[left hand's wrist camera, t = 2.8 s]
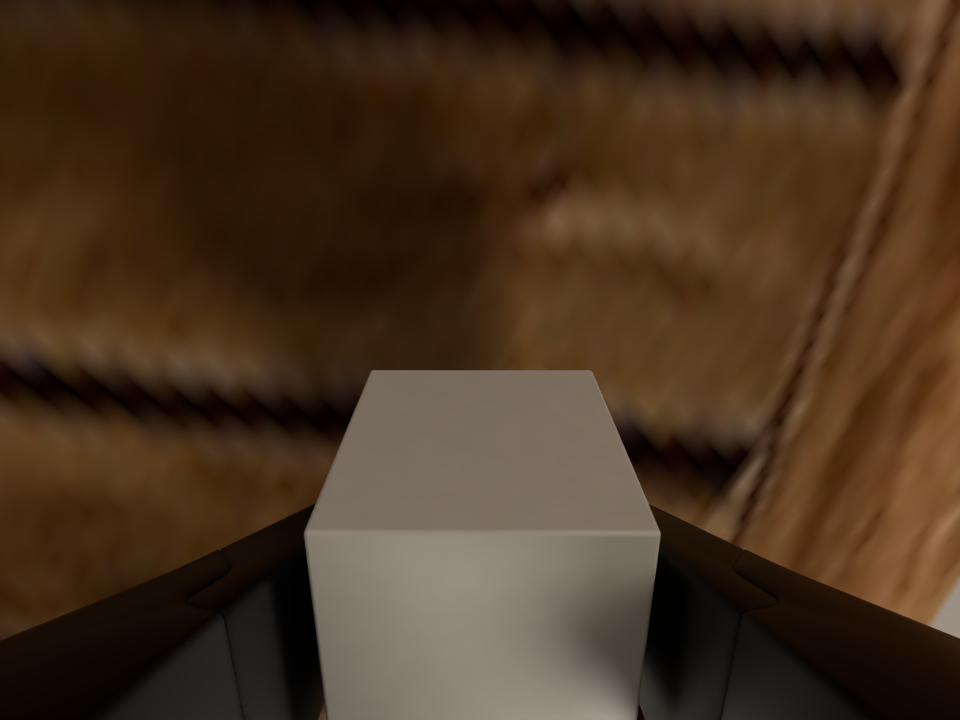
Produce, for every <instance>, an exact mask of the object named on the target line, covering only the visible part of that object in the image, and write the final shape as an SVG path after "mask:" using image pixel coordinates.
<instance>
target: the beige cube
mask: <svg viewBox="0 0 960 720" xmlns="http://www.w3.org/2000/svg"><path fill="white" fill-rule="evenodd" d="M660 536H661V533H660V530H659V528H658V526H657V523H656V521H655V519H654V516H653V514H652V511H651V509H650V507H649V504H648V502H647V500H646V497H645V495H644V493H643V490H642V488H641V486H640V483H639V481H638V479H637V476H636V474H635V471H634V469H633V467H632V464H631V462H630V460H629V457H628V455H627V453H626V450H625V448H624V446H623V443H622V441H621V439H620V436H619V434H618V431H617V429H616V427H615V424H614V422H613V420H612V417H611V415H610V413H609V410H608V408H607V406H606V403H605V401H604V399H603V396H602V394H601V391H600V389H599V387H598V384H597V382H596V380H595V377H594V375H593V373H592V371H590V370H373V371H371V372H370V375H369V377H368V380H367V382H366V384H365V387H364V389H363V392H362V394H361V396H360V399H359V401H358V404H357V406H356V408H355V411H354V413H353V416H352V418H351V420H350V423H349V425H348V428H347V430H346V432H345V435H344V437H343V440H342V442H341V444H340V447H339V449H338V452H337V454H336V456H335V459H334V461H333V464H332V466H331V468H330V471H329V473H328V476H327V478H326V480H325V483H324V485H323V488H322V490H321V492H320V495H319V497H318V500H317V502H316V504H315V507H314V509H313V512H312V514H311V517H310V519H309V521H308V524H307V526H306V529H305V531H304V540H305V548H306V557H307V565H308V573H309V581H310V589H311V597H312V605H313V613H314V621H315V629H316V637H317V645H318V653H319V661H320V669H321V677H322V686H323V694H324V702H325V710H326V718H327V720H637V713H638V705H639V697H640V690H641V682H642V674H643V667H644V659H645V651H646V644H647V636H648V628H649V621H650V613H651V605H652V598H653V590H654V582H655V575H656V567H657V559H658V552H659V544H660Z"/></svg>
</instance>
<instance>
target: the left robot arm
mask: <svg viewBox="0 0 960 720" xmlns="http://www.w3.org/2000/svg"><path fill="white" fill-rule="evenodd" d="M315 504H316V503H315ZM315 504H313V505H311V506H309V507H307V508H305V509H303V510H301V511H299V512H297V513H295V514H293V515H291V516H288V517H286V518H284V519H282V520H280V521H278V522H276V523H274V524H272V525H270V526H268V527H266V528H264V529H261V530H259V531H257V532H255V533H253V534H251V535H249V536H247V537H245V538H243V539H241V540H239V541H237V542H234V543H232V544H230V545H228V546H226V547H224V548H222V549H221V550H216V551H214V552H212V553H210V554H208V555H206V556H204V557H202V558H199V559H197V560H195V561H193V562H191V563H188V564H186V565H184V566H182V567H180V568H177V569H175V570H173V571H170V572H168V573H166V574H163V575H161V576H159V577H156V578H154V579H151V580H149V581H147V582H144V583H142V584H139V585H137V586H134V587H132V588H129V589H127V590H124V591H122V592H119V593H117V594H115V595H112V596H110V597H107V598H105V599H102V600H100V601H97V602H95V603H92V604H90V605H87V606H85V607H82V608H80V609H77V610H75V611H73V612H70V613H68V614H65V615H63V616H60V617H58V618H55V619H53V620H50V621H48V622H45V623H43V624H40V625H38V626H35V627H33V628H31V629H28V630H26V631H23V632H21V633H18V634H16V635H13V636H11V637H8V638H6V639H3V640H1V641H0V720H318V718H319V715H320V713H321V710H322V707H323V704H324V694H323V686H322V677H321V669H320V661H319V653H318V645H317V637H316V629H315V621H314V613H313V605H312V597H311V589H310V581H309V573H308V565H307V557H306V548H305V540H304V531H305V529H306V526H307V524H308V521H309V519H310V517H311V514H312V512H313V509H314V507H315ZM649 507H650V509H651V511H652V514H653V516H654V519H655V521H656V523H657V526H658V528H659V530H660V533H661V536H660V544H659V552H658V559H657V567H656V575H655V582H654V590H653V598H652V605H651V613H650V621H649V628H648V636H647V644H646V651H645V659H644V667H643V674H642V682H641V690H640V697H639V703H640V706H641V709H642V712H643V715H644V717H645V720H960V639H959V638H957V637H954V636H952V635H949V634H947V633H944V632H942V631H940V630H937V629H934V628H932V627H930V626H927V625H925V624H922V623H920V622H917V621H915V620H912V619H910V618H907V617H905V616H902V615H900V614H897V613H895V612H892V611H890V610H887V609H885V608H882V607H880V606H877V605H875V604H872V603H870V602H867V601H865V600H862V599H860V598H857V597H855V596H852V595H850V594H848V593H845V592H843V591H840V590H838V589H835V588H833V587H830V586H828V585H825V584H823V583H820V582H818V581H815V580H813V579H810V578H808V577H806V576H803V575H801V574H799V573H796V572H794V571H791V570H789V569H787V568H784V567H782V566H780V565H778V564H776V563H773V562H771V561H769V560H767V559H765V558H762V557H760V556H758V555H756V554H754V553H752V552H750V551H748V550H744V551H743V549H742V548H740V547H737V546H735V545H733V544H731V543H729V542H727V541H725V540H723V539H721V538H719V537H717V536H714V535H712V534H710V533H708V532H706V531H704V530H702V529H700V528H698V527H696V526H693V525H691V524H689V523H687V522H685V521H683V520H681V519H679V518H677V517H675V516H673V515H670V514H668V513H666V512H664V511H662V510H660V509H658V508H656V507H654V506H652V505H649Z"/></svg>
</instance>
